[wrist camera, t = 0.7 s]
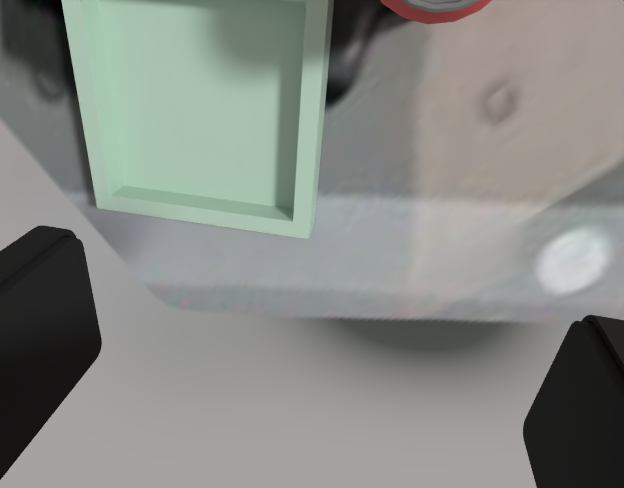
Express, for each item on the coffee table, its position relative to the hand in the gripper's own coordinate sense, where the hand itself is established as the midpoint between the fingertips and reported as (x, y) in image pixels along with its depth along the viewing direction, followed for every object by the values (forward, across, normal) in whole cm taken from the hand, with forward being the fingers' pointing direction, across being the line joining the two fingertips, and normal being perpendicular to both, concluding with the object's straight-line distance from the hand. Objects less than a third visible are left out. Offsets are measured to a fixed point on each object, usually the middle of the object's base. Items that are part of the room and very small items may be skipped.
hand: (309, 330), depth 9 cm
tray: (+24, +11, +2) cm, 27 cm away
